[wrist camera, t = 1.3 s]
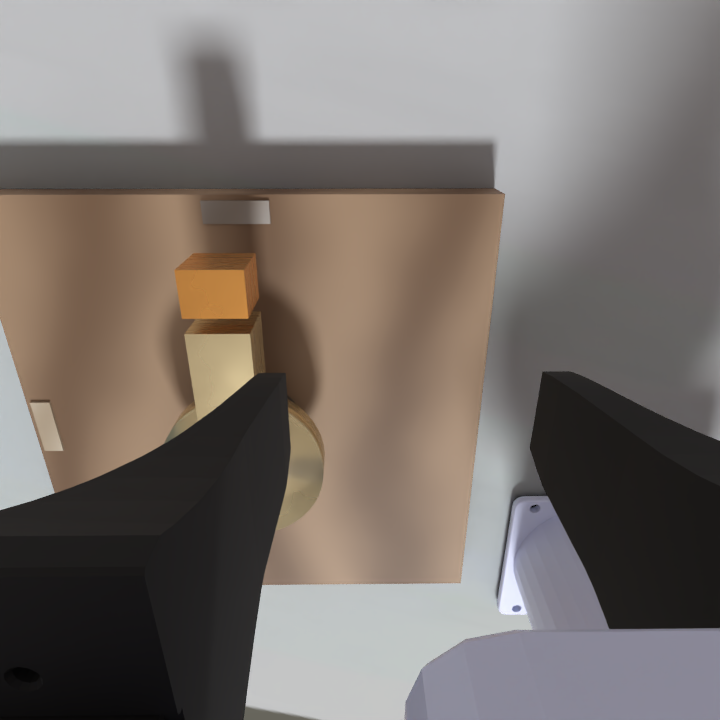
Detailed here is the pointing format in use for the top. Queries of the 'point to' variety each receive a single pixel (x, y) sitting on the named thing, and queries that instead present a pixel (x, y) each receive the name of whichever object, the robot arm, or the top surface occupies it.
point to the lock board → (272, 347)
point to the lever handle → (239, 362)
